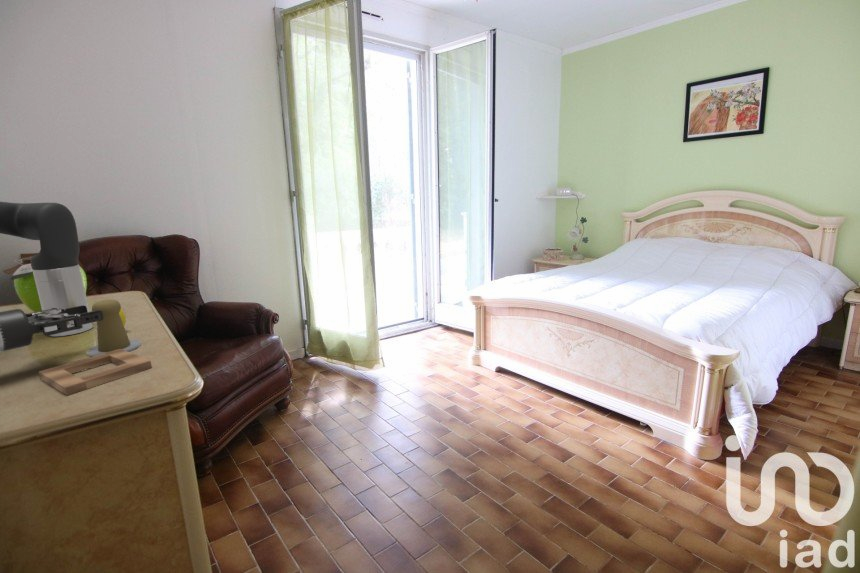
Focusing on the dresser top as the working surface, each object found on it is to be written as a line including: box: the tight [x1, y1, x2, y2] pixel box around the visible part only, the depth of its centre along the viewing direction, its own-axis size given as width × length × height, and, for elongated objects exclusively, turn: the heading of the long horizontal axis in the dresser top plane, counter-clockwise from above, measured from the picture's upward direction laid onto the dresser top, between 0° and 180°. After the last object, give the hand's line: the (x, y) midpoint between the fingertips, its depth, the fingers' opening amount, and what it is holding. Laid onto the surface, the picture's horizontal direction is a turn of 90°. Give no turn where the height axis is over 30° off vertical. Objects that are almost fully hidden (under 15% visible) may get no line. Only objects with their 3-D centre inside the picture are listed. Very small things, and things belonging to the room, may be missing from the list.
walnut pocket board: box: [38, 349, 153, 396], centre depth 86 cm, size 14×14×2 cm
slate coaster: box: [86, 338, 142, 357], centre depth 100 cm, size 10×10×1 cm
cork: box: [91, 299, 130, 352], centre depth 98 cm, size 6×6×11 cm
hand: (94, 312), depth 96 cm, fingers open, 8 cm apart
